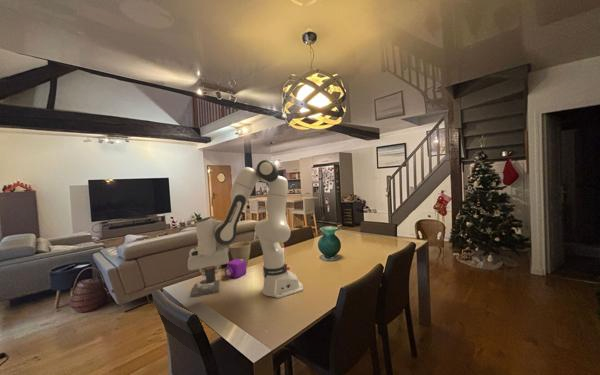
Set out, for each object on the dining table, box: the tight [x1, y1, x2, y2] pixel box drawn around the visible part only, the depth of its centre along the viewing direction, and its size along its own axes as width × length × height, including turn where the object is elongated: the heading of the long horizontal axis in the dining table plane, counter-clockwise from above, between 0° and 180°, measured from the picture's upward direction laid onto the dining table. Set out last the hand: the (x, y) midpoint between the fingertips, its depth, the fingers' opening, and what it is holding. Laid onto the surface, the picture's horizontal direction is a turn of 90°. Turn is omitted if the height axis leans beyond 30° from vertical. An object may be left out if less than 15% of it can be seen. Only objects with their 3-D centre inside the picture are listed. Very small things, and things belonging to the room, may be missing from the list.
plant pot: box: [229, 241, 252, 267], centre depth 176 cm, size 15×15×16 cm
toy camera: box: [224, 259, 247, 279], centre depth 158 cm, size 11×14×10 cm
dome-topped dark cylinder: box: [204, 266, 217, 283], centre depth 128 cm, size 5×5×8 cm
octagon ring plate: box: [191, 278, 220, 298], centre depth 141 cm, size 14×14×4 cm
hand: (210, 274), depth 128 cm, fingers closed on dome-topped dark cylinder, 5 cm apart
